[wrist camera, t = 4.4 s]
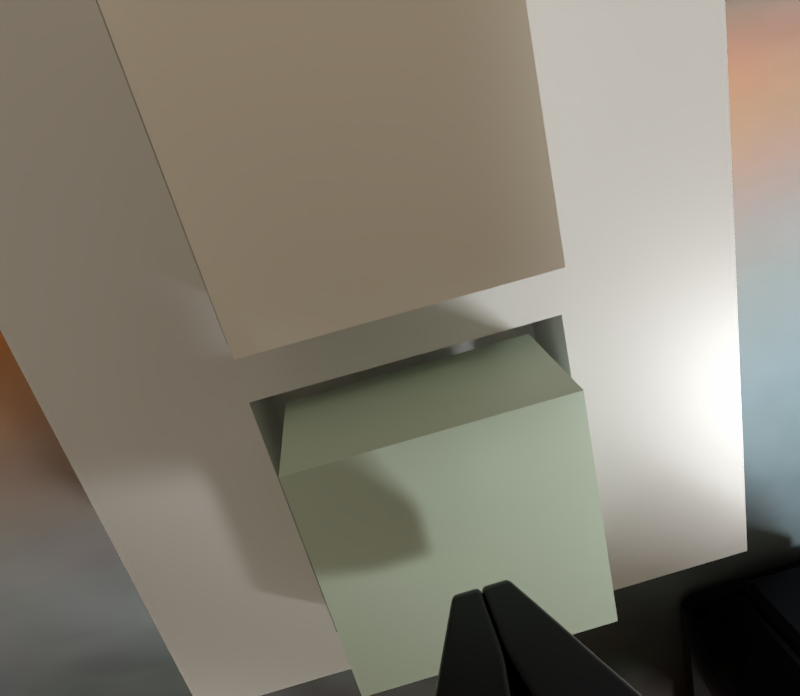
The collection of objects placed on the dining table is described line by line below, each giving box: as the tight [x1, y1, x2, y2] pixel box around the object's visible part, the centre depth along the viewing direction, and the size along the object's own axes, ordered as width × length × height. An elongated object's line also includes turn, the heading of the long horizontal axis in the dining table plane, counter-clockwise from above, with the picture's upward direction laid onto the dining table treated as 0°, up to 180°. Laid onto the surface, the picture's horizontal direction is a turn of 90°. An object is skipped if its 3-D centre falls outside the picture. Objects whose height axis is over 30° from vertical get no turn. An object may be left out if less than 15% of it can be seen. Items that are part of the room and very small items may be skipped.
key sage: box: [279, 334, 618, 696], centre depth 11 cm, size 5×5×2 cm
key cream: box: [97, 0, 565, 360], centre depth 9 cm, size 5×5×2 cm
